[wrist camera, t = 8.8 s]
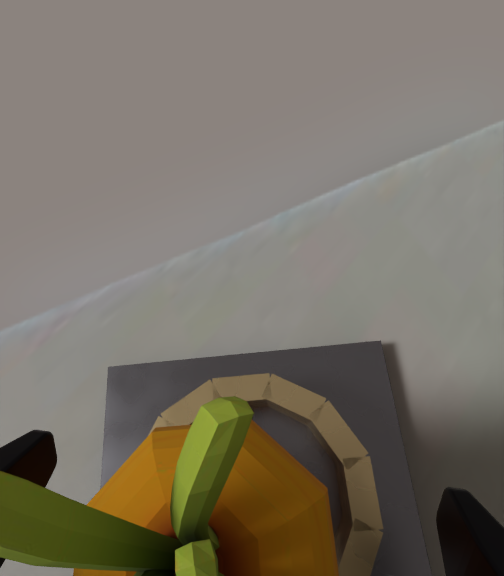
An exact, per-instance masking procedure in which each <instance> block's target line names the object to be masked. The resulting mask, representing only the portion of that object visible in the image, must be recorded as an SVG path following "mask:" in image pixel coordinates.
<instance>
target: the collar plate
mask: <svg viewBox="0 0 504 576" xmlns="http://www.w3.org/2000/svg"><path fill="white" fill-rule="evenodd" d="M231 396H236V397H238V398H241V399H243V400H245V401H247V402H248V404H249V406H250V407H251V409H252V411H253V412H254V414H253V417H252V420H253V421H254V422H255V423H256V424H257V425H259V426H260V427H261V428H262V429H263V430H264V431H265V432H266V433H267V434H268V435H270V436H271V437H272V438H273V439H274V440H275V441H276V442H277V443H278V444H279V445H281V446H282V447H283V448H284V449H285V450H286V451H287V452H288V453H289V454H291V455H292V456H293V457H294V458H295V459H296V460H297V461H298V462H299V463H300V464H302V465H303V466H304V467H305V468H306V469H307V470H308V471H309V472H310V473H312V474H313V475H314V476H315V477H316V478H317V479H318V480H319V481H320V482H321V483H323V484H324V485H325V486H326V487H327V489H328V496H329V504H330V511H331V519H332V526H333V534H334V541H335V549H336V557H337V564H338V572H339V576H432V574H431V569H430V565H429V560H428V555H427V551H426V546H425V542H424V537H423V532H422V528H421V523H420V519H419V514H418V509H417V505H416V500H415V496H414V491H413V487H412V482H411V477H410V473H409V468H408V464H407V459H406V454H405V450H404V445H403V441H402V436H401V431H400V427H399V422H398V418H397V413H396V409H395V404H394V399H393V395H392V390H391V386H390V381H389V376H388V372H387V367H386V363H385V358H384V353H383V349H382V344H381V341H372V342H362V343H352V344H341V345H331V346H321V347H310V348H300V349H289V350H279V351H269V352H258V353H248V354H238V355H227V356H217V357H206V358H196V359H186V360H175V361H165V362H154V363H144V364H134V365H123V366H113V367H108V378H107V394H106V410H105V426H104V442H103V458H102V474H101V488H102V487H103V486H104V485H105V484H106V483H107V482H108V481H109V479H110V478H111V477H112V476H113V475H114V474H115V473H116V472H117V470H118V469H119V468H120V467H121V466H122V465H123V464H124V463H125V461H126V460H127V459H128V458H129V457H130V456H131V455H132V454H133V452H134V451H135V450H136V449H137V448H138V447H139V446H140V445H141V444H142V442H143V441H144V440H145V439H146V438H147V437H148V436H149V435H150V433H151V432H152V431H153V430H154V429H155V428H156V427H169V426H181V425H192V423H193V421H194V419H195V417H196V415H197V413H198V411H199V409H200V407H201V406H202V405H204V404H206V403H208V402H210V401H212V400H215V399H217V398H220V397H231Z"/></svg>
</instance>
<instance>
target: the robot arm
mask: <svg viewBox="0 0 504 576" xmlns="http://www.w3.org/2000/svg"><path fill="white" fill-rule="evenodd" d="M56 463H57V454H56V448H55V443H54V438H53V435H52V433H51V432H49V431H42V430H33V431H30V432H28V433H27V434H25V435H23V436H21V437H19V438H17V439H16V440H14V441H12V442H10V443H8V444H6V445H5V446H3V447H1V448H0V471H2V472H5V473H8V474H11V475H14V476H17V477H19V478H22V479H25V480H28V481H30V482H32V483H35V484H37V485H39V486H42V487H44V488H45V487H46V485H47V483H48V481H49V479H50V477H51V475H52V473H53V471H54V469H55V467H56ZM436 522H437V529H438V535H439V540H440V546H441V551H442V556H443V562H444V567H445V573H446V576H504V527H503V526H502V525H501V524H500V523H499V522H498V521H497V520H496V519H495V518H494V517H493V516H492V515H491V514H490V513H489V512H488V511H487V510H486V509H485V508H484V507H483V506H482V505H481V504H480V503H479V502H478V501H477V500H476V499H475V498H474V496H473V495H472V494H471V493H469V492H468V491H467V490H464V489H458V488H451V487H448V488H446V489H445V490H444V492H443V495H442V499H441V502H440V505H439V508H438V511H437V517H436ZM4 561H5V558H1V557H0V567H1V566H2V564H3V562H4Z"/></svg>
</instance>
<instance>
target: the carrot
mask: <svg viewBox="0 0 504 576" xmlns="http://www.w3.org/2000/svg"><path fill="white" fill-rule="evenodd" d="M253 414H254V412H253V411H252V409H251V407H250V406H249V404H248V402H247V401H245V400H243V399H241V398H238V397H236V396H231V397H220V398H217V399H215V400H212V401H210V402H208V403H206V404H204V405H202V406H201V407H200V409H199V411H198V413H197V415H196V417H195V419H194V421H193V423H192V425H181V426H169V427H156V428H155V429H154V430H153V431H152V432H151V433H150V435H149V436H148V437H147V438H146V439H145V440H144V441H143V442H142V444H141V445H140V446H139V447H138V448H137V449H136V450H135V451H134V452H133V454H132V455H131V456H130V457H129V458H128V459H127V460H126V461H125V463H124V464H123V465H122V466H121V467H120V468H119V469H118V470H117V472H116V473H115V474H114V475H113V476H112V477H111V478H110V479H109V481H108V482H107V483H106V484H105V485H104V486H103V487H102V488H101V489H100V491H99V492H98V493H97V494H96V495H95V496H94V497H93V498H92V500H91V501H90V502H89V503H88V504H87V505H84V504H82V503H79V502H76V501H74V500H71V499H69V498H67V497H64V496H62V495H60V494H58V493H55V492H53V491H51V490H48V489H46V488H44V487H42V486H39V485H37V484H35V483H32V482H30V481H28V480H25V479H22V478H19V477H17V476H14V475H11V474H8V473H5V472H2V471H0V557H1V558H5V559H9V560H13V561H17V562H21V563H25V564H29V565H34V566H46V567H62V568H74V574H73V576H339V572H338V564H337V557H336V549H335V541H334V534H333V526H332V519H331V511H330V504H329V496H328V489H327V487H326V486H325V485H324V484H323V483H321V482H320V481H319V480H318V479H317V478H316V477H315V476H314V475H313V474H312V473H310V472H309V471H308V470H307V469H306V468H305V467H304V466H303V465H302V464H300V463H299V462H298V461H297V460H296V459H295V458H294V457H293V456H292V455H291V454H289V453H288V452H287V451H286V450H285V449H284V448H283V447H282V446H281V445H279V444H278V443H277V442H276V441H275V440H274V439H273V438H272V437H271V436H270V435H268V434H267V433H266V432H265V431H264V430H263V429H262V428H261V427H260V426H259V425H257V424H256V423H255V422H254V421H253V420H252V417H253Z"/></svg>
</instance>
